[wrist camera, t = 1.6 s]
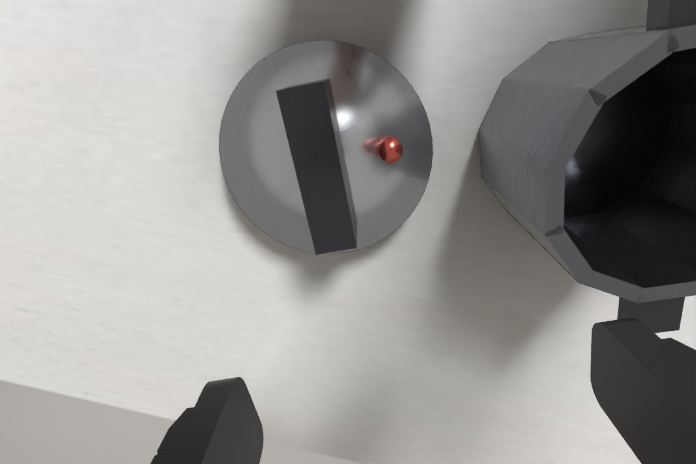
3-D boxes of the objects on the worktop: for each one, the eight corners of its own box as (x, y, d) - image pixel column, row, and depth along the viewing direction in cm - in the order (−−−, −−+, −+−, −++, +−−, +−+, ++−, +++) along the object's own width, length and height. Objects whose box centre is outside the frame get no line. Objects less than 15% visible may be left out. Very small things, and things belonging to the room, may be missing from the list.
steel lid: (204, 65, 25) (155, 67, 19) (413, 21, 23) (432, 7, 17) (260, 251, 30) (236, 298, 24) (435, 223, 29) (455, 265, 23)
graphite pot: (471, 7, 23) (546, -30, 14) (691, -39, 22) (934, -114, 13) (486, 266, 30) (543, 358, 20) (654, 241, 28) (795, 327, 19)
